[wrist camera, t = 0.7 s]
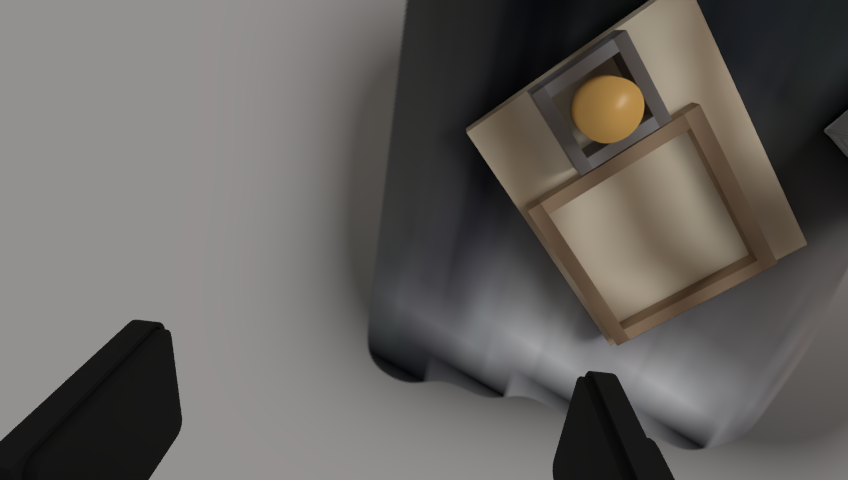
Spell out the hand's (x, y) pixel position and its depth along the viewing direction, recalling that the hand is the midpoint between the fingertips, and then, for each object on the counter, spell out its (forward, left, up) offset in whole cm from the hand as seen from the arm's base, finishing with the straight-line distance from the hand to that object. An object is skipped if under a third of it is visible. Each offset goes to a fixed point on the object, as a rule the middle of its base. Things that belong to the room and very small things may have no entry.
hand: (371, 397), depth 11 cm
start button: (-11, +3, -21) cm, 24 cm away
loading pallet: (-11, +10, -24) cm, 29 cm away
